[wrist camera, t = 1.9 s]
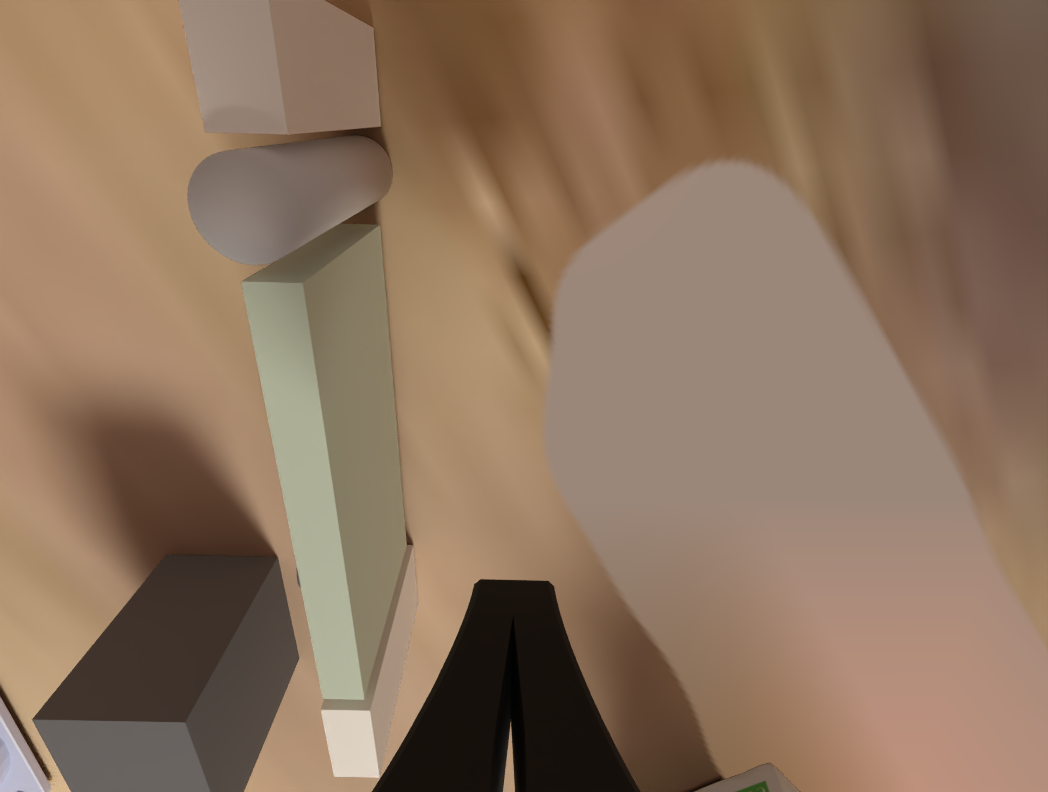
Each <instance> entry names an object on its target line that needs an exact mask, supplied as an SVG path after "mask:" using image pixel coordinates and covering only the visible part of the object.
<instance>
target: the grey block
mask: <svg viewBox="0 0 1048 792" xmlns="http://www.w3.org/2000/svg"><path fill="white" fill-rule="evenodd" d="M298 660H299V655H298V650H297V645H296V640H295V636H294V631H293V626H292V622H291V617H290V612H289V607H288V603H287V598H286V593H285V589H284V584H283V579H282V575H281V570H280V565H279V560H278V557H256V556H209V555H166V556H165V557H164V558H163V560H162V561H161V562H160V563H159V564H158V566H157V567H156V568H155V569H154V571H153V572H152V573H151V574H150V576H149V577H148V578H147V579H146V580H145V582H144V583H143V584H142V585H141V587H140V588H139V589H138V590H137V591H136V593H135V594H134V595H133V596H132V598H131V599H130V600H129V601H128V602H127V604H126V605H125V606H124V607H123V609H122V610H121V611H120V612H119V614H118V615H117V616H116V617H115V618H114V620H113V621H112V622H111V623H110V625H109V626H108V627H107V628H106V629H105V631H104V632H103V633H102V634H101V636H100V637H99V638H98V639H97V641H96V642H95V643H94V644H93V645H92V647H91V648H90V649H89V650H88V652H87V653H86V654H85V655H84V656H83V658H82V659H81V660H80V661H79V663H78V664H77V665H76V666H75V667H74V669H73V670H72V671H71V672H70V674H69V675H68V676H67V677H66V679H65V680H64V681H63V682H62V683H61V685H60V686H59V687H58V688H57V690H56V691H55V692H54V693H53V694H52V696H51V697H50V698H49V699H48V701H47V702H46V703H45V704H44V706H43V707H42V708H41V709H40V710H39V712H38V713H37V714H36V715H35V717H34V718H33V719H32V721H33V722H34V724H35V726H36V728H37V730H38V732H39V733H40V735H41V737H42V739H43V741H44V743H45V744H46V746H47V748H48V750H49V752H50V754H51V755H52V757H53V759H54V761H55V763H56V765H57V766H58V768H59V770H60V772H61V774H62V776H63V778H64V779H65V781H66V783H67V785H68V787H69V789H70V790H71V792H244V790H245V788H246V785H247V783H248V780H249V778H250V776H251V773H252V771H253V768H254V766H255V763H256V761H257V759H258V756H259V754H260V751H261V749H262V747H263V744H264V742H265V739H266V737H267V735H268V732H269V730H270V727H271V725H272V723H273V720H274V718H275V715H276V713H277V711H278V708H279V706H280V703H281V701H282V699H283V696H284V694H285V691H286V689H287V687H288V684H289V682H290V679H291V677H292V675H293V672H294V670H295V667H296V665H297V662H298Z"/></svg>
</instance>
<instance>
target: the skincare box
mask: <svg viewBox="0 0 1048 792" xmlns="http://www.w3.org/2000/svg"><path fill="white" fill-rule="evenodd" d="M694 792H800V791H799V790H798V789H797V788H796V787H795V786H794V785H793V784H792V783H791V782H790V781H789V780H788V779H787V778H786V777H785V776H784V775H783V774H782V773H781V772H780V771H779V770H778V769H777V768H776V767H775V766H774V765H772V764H771V763H766V764H762V765H760V766H757V767H755V768H753V769H750V770H748V771H746V772H744V773H742V774H739V775H736V776H733V777H730V778H727V779H724V780H722V781H719V782H716V783H714V784H711V785H709V786H706V787H704V788H701V789H699V790H697V791H694Z"/></svg>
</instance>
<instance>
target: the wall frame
mask: <svg viewBox="0 0 1048 792" xmlns="http://www.w3.org/2000/svg"><path fill="white" fill-rule="evenodd" d="M179 5H180V10H181V15H182V20H183V25H184V30H185V35H186V40H187V45H188V50H189V55H190V60H191V65H192V70H193V75H194V80H195V85H196V90H197V95H198V100H199V105H200V110H201V115H202V120H203V125H204V130H205V132H210V133H247V134H283V135H289V134H301V133H312V132H324V131H335V130H347V129H359V128H370V127H381V119H380V106H379V93H378V80H377V67H376V54H375V41H374V28H373V27H371V26H369V25H367V24H366V23H364V22H362V21H360V20H359V19H357V18H355V17H353V16H351V15H350V14H348V13H346V12H344V11H343V10H341V9H339V8H337V7H336V6H334V5H332V4H330V3H328V2H327V1H325V0H179ZM392 178H393V170H392V165H391V161H390V159H389V157H388V155H387V153H386V152H385V150H384V149H383V148H382V147H381V146H380V145H379V144H378V143H377V142H375V141H374V140H372V139H370V138H368V137H365V136H361V135H350V136H342V137H334V138H326V139H318V140H309V141H301V142H293V143H285V144H277V145H269V146H260V147H252V148H244V149H236V150H228V151H222V152H218V153H215V154H212V155H211V156H209V157H207V158H206V159H204V160H203V161H202V162H201V163H200V164H199V165H198V166H197V167H196V169H195V170H194V172H193V174H192V176H191V179H190V182H189V186H188V205H189V210H190V214H191V217H192V219H193V222H194V224H195V226H196V228H197V229H198V231H199V233H200V234H201V235H202V237H203V238H204V239H205V240H206V242H207V243H208V244H209V245H210V246H211V247H213V248H214V249H215V250H216V251H217V252H219V253H220V254H222V255H223V256H225V257H227V258H229V259H231V260H233V261H236V262H239V263H243V264H248V265H263V264H268V263H271V262H274V261H276V260H278V259H280V258H282V257H283V256H285V255H287V254H289V253H290V252H292V251H294V250H295V249H297V248H299V247H300V246H302V245H304V244H306V243H307V242H309V241H311V240H312V239H314V238H316V237H317V236H319V235H321V234H323V233H324V232H326V231H328V230H329V229H331V228H333V227H334V226H336V225H338V224H340V223H341V222H343V221H345V220H346V219H348V218H350V217H351V216H353V215H355V214H357V213H358V212H360V211H362V210H363V209H365V208H367V207H368V206H370V205H372V204H374V203H375V202H377V201H379V200H380V199H382V198H383V197H384V196H385V195H386V193H387V192H388V190H389V189H390V186H391V183H392ZM417 605H418V599H417V586H416V573H415V560H414V547H413V545H407V547H406V550H405V554H404V558H403V561H402V565H401V569H400V572H399V576H398V579H397V583H396V587H395V590H394V594H393V598H392V601H391V605H390V608H389V612H388V616H387V619H386V623H385V627H384V630H383V634H382V638H381V641H380V645H379V648H378V652H377V656H376V659H375V663H374V667H373V670H372V674H371V677H370V681H369V685H368V688H367V692H366V696H365V699H364V700H352V699H324V702H323V705H322V708H321V713H322V718H323V723H324V728H325V733H326V738H327V743H328V748H329V753H330V758H331V763H332V768H333V773H334V777H380V773H381V769H382V764H383V760H384V755H385V751H386V746H387V742H388V737H389V733H390V728H391V724H392V719H393V714H394V710H395V705H396V701H397V696H398V692H399V687H400V683H401V678H402V674H403V669H404V664H405V660H406V655H407V651H408V646H409V642H410V637H411V633H412V628H413V624H414V619H415V614H416V610H417Z"/></svg>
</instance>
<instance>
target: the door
mask: <svg viewBox="0 0 1048 792" xmlns="http://www.w3.org/2000/svg"><path fill="white" fill-rule="evenodd" d="M241 284H242V289H243V294H244V299H245V304H246V309H247V315H248V320H249V325H250V330H251V335H252V340H253V345H254V350H255V355H256V361H257V366H258V371H259V376H260V381H261V386H262V391H263V396H264V401H265V406H266V412H267V417H268V422H269V427H270V432H271V437H272V442H273V447H274V452H275V458H276V463H277V468H278V473H279V478H280V483H281V488H282V493H283V498H284V504H285V509H286V514H287V519H288V524H289V529H290V534H291V539H292V544H293V550H294V555H295V560H296V565H297V581H298V584H299V586H300V587H301V590H302V595H303V601H304V606H305V611H306V616H307V621H308V626H309V631H310V636H311V641H312V647H313V652H314V657H315V662H316V667H317V672H318V677H319V682H320V687H321V693H322V698H323V699H352V700H364V699H365V696H366V692H367V688H368V685H369V681H370V677H371V674H372V670H373V667H374V663H375V659H376V656H377V652H378V648H379V645H380V641H381V638H382V634H383V630H384V627H385V623H386V619H387V616H388V612H389V608H390V605H391V601H392V598H393V594H394V590H395V587H396V583H397V579H398V576H399V572H400V569H401V565H402V561H403V558H404V554H405V550H406V547H407V542H406V530H405V518H404V506H403V494H402V482H401V470H400V458H399V446H398V434H397V422H396V410H395V398H394V386H393V374H392V362H391V350H390V338H389V326H388V314H387V302H386V290H385V278H384V266H383V254H382V242H381V230H380V225H376V224H338V225H336V226H335V227H333V228H331V229H330V230H328V231H326V232H325V233H323V234H321V235H319V236H318V237H316V238H314V239H313V240H311V241H309V242H308V243H306V244H304V245H302V246H301V247H299V248H297V249H296V250H294V251H292V252H291V253H289V254H287V255H285V256H284V257H282V258H280V259H279V260H277V261H275V262H274V263H272V264H270V265H268V266H267V267H265V268H263V269H262V270H260V271H258V272H257V273H255V274H253V275H251V276H250V277H248V278H246V279H245V280H243V281H241Z"/></svg>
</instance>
